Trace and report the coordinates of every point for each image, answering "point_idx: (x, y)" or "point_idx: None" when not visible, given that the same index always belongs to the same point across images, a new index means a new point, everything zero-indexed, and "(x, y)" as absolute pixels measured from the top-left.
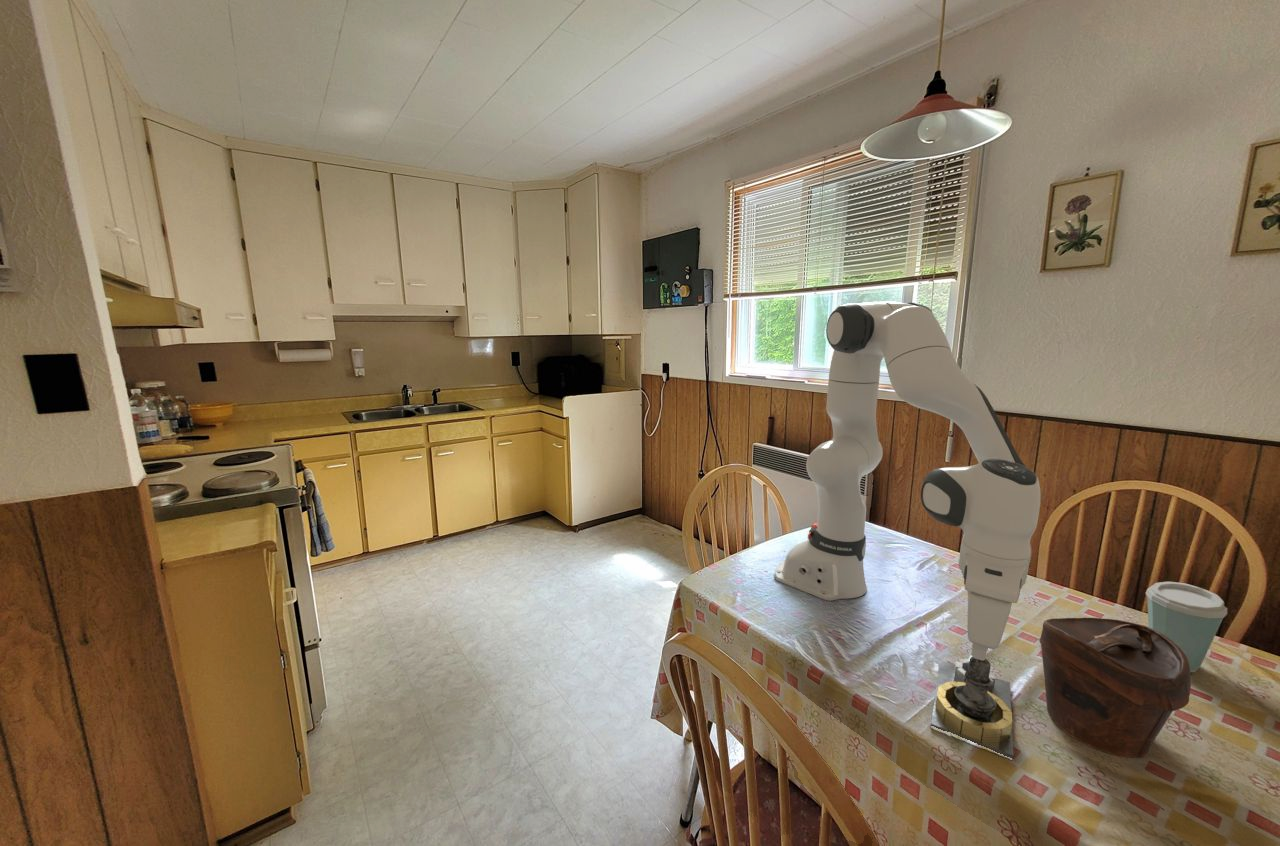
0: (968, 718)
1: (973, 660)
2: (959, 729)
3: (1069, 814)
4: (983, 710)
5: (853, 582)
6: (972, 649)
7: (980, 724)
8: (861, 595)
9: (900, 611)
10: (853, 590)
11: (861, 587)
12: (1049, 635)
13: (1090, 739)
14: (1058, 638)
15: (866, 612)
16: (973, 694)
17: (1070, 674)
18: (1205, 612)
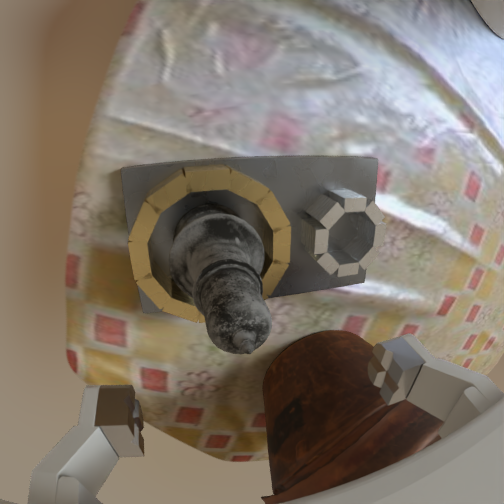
0: (144, 251)
1: (223, 316)
2: (132, 227)
3: (95, 366)
4: (176, 283)
5: (501, 4)
6: (80, 413)
7: (142, 275)
8: (487, 24)
9: (483, 89)
10: (488, 6)
11: (501, 23)
12: (380, 460)
13: (265, 386)
14: None
15: (454, 23)
16: (193, 270)
17: (297, 455)
18: None
